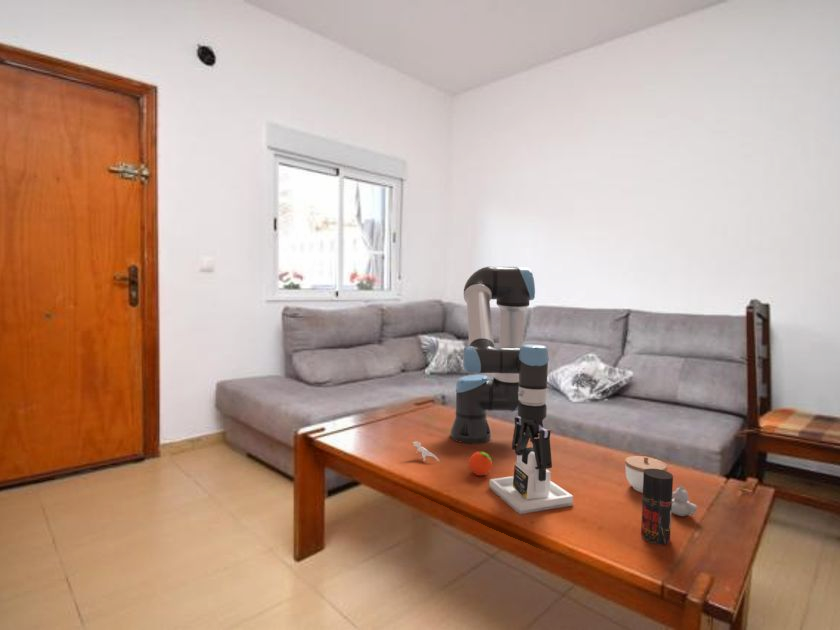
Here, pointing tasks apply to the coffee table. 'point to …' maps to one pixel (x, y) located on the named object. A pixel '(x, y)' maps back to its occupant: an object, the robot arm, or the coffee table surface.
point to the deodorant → (656, 506)
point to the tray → (522, 506)
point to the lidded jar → (640, 469)
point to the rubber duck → (682, 503)
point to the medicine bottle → (528, 476)
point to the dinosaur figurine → (423, 451)
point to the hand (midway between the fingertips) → (529, 484)
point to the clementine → (480, 463)
